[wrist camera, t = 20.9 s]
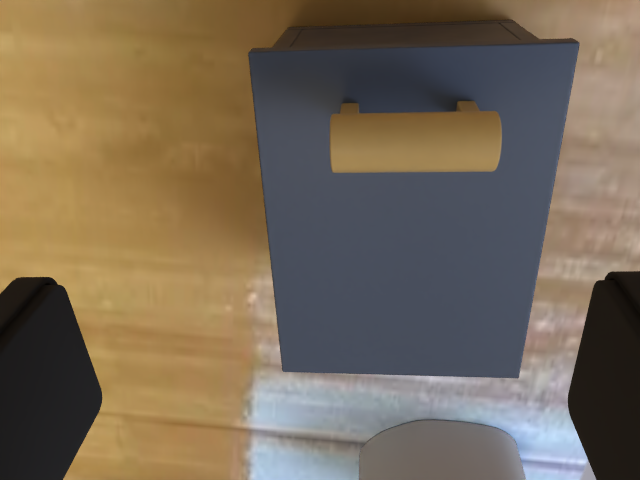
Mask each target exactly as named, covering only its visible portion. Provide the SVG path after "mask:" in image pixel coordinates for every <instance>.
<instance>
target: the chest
mask: <svg viewBox="0 0 640 480" xmlns="http://www.w3.org/2000/svg"><path fill="white" fill-rule="evenodd" d="M536 39H538V38H537V37H535V36H534V35H533V34H531V33H530V32H528V31H527V30H526V29H524V28H523V27H522V26H520V25H519V24H517V23H516V22H515V21H513V20H490V21H461V22H431V23H402V24H372V25H343V26H313V27H289V28H288V29H287V30H286V31H285V32H284V33H283V35H282V36H281V37H280V38H279V39H278V41H277V42H276V43H275V44H274V46H273V47H272V48H274V47H306V46H339V45H372V44H405V43H438V42H471V41H503V40H536Z"/></svg>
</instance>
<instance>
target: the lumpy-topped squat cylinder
mask: <svg viewBox="0 0 640 480" xmlns="http://www.w3.org/2000/svg"><path fill="white" fill-rule="evenodd" d="M359 480H526V478H525V474H524V470H523V467H522V463H521V459H520V455H519V452H518V448H517V444H516V442H515V440H514V439H513V438H512V437H511V436H510V435H509V434H507V433H506V432H504V431H502V430H500V429H497V428H494V427H490V426H486V425H479V424H472V423H466V422H457V421H443V420H419V421H414V422H409V423H406V424H402V425H399V426H396V427H393V428H390V429H387V430H385V431H383V432H381V433H379V434H377V435H376V436H374V437H373V438H372V439H370V440H369V441H368V442H367V443H366V444H365V445H364V446H363V447H362V449H361V451H360V456H359Z"/></svg>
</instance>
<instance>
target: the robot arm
mask: <svg viewBox="0 0 640 480" xmlns="http://www.w3.org/2000/svg"><path fill="white" fill-rule="evenodd" d="M101 403H102V392H101V388H100V385H99V382H98V379H97V377H96V374H95V371H94V368H93V365H92V362H91V360H90V357H89V354H88V351H87V348H86V345H85V343H84V340H83V337H82V334H81V331H80V328H79V326H78V323H77V320H76V317H75V314H74V311H73V309H72V306H71V303H70V300H69V297H68V294H67V292H66V290H65V288H64V287H63V286H61V285H58V284H57V283H56V281H55V280H54V279H53V278H50V277H21V278H16V279H15V280H14V281H12V282H11V283H10V284H9V285H8V286H7V287H6V289H5V290H4V291H3V292H2V293H1V294H0V480H63V478H64V476H65V474H66V473H67V471H68V469H69V467H70V465H71V463H72V461H73V459H74V457H75V456H76V454H77V452H78V450H79V448H80V446H81V444H82V442H83V441H84V439H85V437H86V435H87V433H88V431H89V429H90V427H91V425H92V424H93V422H94V420H95V418H96V416H97V414H98V412H99V410H100V407H101ZM568 408H569V413H570V416H571V419H572V421H573V424H574V426H575V429H576V431H577V434H578V436H579V438H580V441H581V443H582V446H583V448H584V451H585V453H586V455H587V458H588V460H589V463H590V465H591V467H592V470H593V472H594V475H595V477H596V480H640V271H634V272H610V273H608V274H607V276H606V277H605V280H599V281H597V282H596V283H595V285H594V288H593V291H592V296H591V300H590V304H589V308H588V313H587V317H586V321H585V326H584V330H583V334H582V338H581V343H580V347H579V351H578V355H577V360H576V364H575V368H574V373H573V377H572V381H571V385H570V390H569V394H568Z"/></svg>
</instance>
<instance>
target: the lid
mask: <svg viewBox="0 0 640 480" xmlns="http://www.w3.org/2000/svg"><path fill="white" fill-rule="evenodd" d="M578 50H579V42H578V41H576V40H575V39H573V38H569V39H536V40H503V41H471V42H438V43H405V44H372V45H339V46H306V47H274V48H252V49H251V50H250V51H249V53H248V56H249V65H250V74H251V84H252V93H253V102H254V111H255V121H256V130H257V139H258V149H259V158H260V167H261V176H262V186H263V195H264V204H265V213H266V223H267V232H268V241H269V250H270V260H271V269H272V278H273V288H274V297H275V306H276V315H277V325H278V334H279V343H280V352H281V362H282V370H283V372H310V373H347V374H384V375H420V376H457V377H494V378H518V377H519V373H520V367H521V362H522V356H523V351H524V345H525V340H526V334H527V329H528V323H529V318H530V312H531V307H532V301H533V296H534V290H535V285H536V280H537V274H538V269H539V263H540V258H541V252H542V247H543V241H544V236H545V230H546V225H547V219H548V214H549V208H550V203H551V197H552V192H553V186H554V181H555V176H556V170H557V165H558V159H559V154H560V148H561V143H562V137H563V132H564V126H565V121H566V115H567V110H568V104H569V99H570V93H571V88H572V83H573V77H574V72H575V66H576V61H577V55H578Z"/></svg>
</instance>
